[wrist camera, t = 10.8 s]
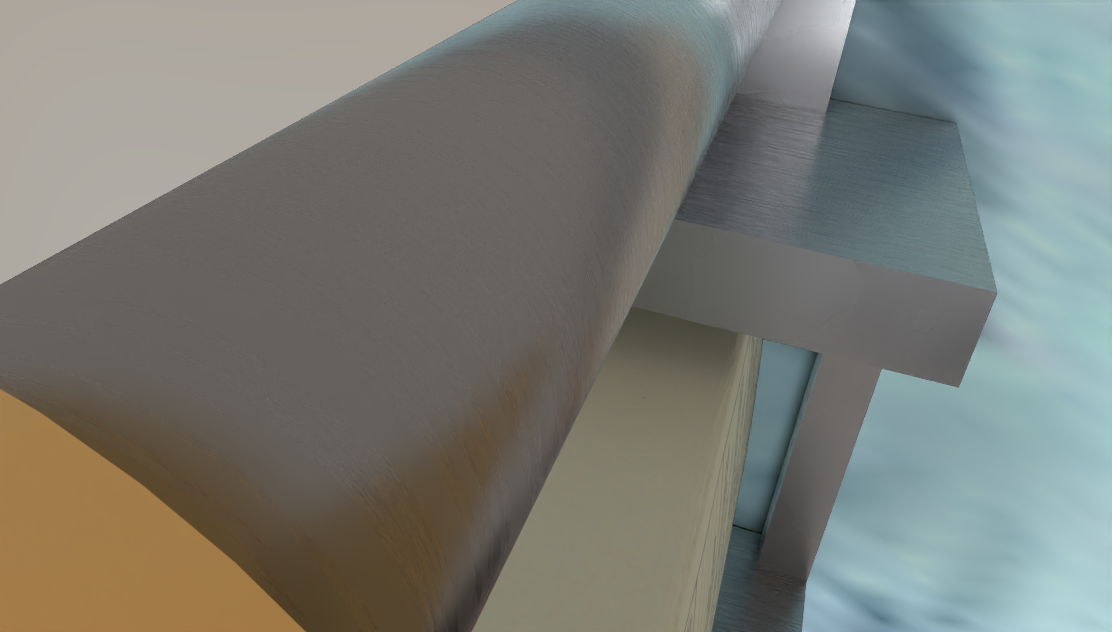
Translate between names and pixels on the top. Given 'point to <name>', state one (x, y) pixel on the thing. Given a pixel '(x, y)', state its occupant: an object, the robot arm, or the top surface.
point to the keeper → (106, 547)
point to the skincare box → (638, 489)
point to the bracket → (504, 296)
